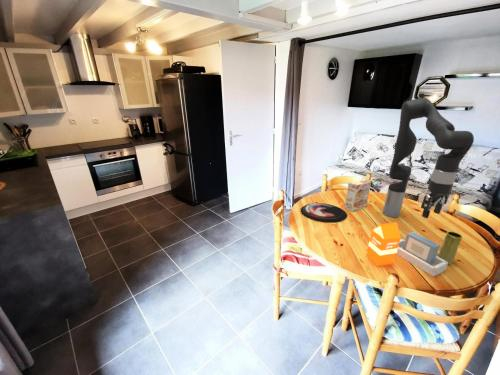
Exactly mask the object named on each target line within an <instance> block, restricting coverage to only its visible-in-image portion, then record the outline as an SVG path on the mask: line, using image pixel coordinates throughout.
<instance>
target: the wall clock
mask: <svg viewBox="0 0 500 375" xmlns="http://www.w3.org/2000/svg"><path fill="white" fill-rule="evenodd" d="M300 210H301V211H300V213H301V212H302V213H301V215H303V216H304V217H305V216H306V218H308V219H309V218H310V220H313V221H315V222H320V223H340V222H343V221H344V220H346V219H347V218H348V214H347V212H346V211H345V210H344V209H342V208H341V207H339V206H337V205H333V204H330V203H324V202H313V203H308V204H305V205H303V206H301V208H300Z"/></svg>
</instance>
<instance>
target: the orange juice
mask: <svg viewBox="0 0 500 375" xmlns="http://www.w3.org/2000/svg"><path fill="white" fill-rule="evenodd" d="M401 239H402V237H401V233H400V230H399V226H398V222H397V221H396V222H388V223H381V224H379V225H377V226H376V227H374V228H373V229H371V234H370V238H369V240H368V245H367V247H368V248H367V251H366V256H365V257H367V258H368V259H369V260H370V261H371V262H372V263H373V264H375V265H376V267H379V266H386V265H392V264H394V263H395V259H396V255H397V254H396V253H397V249H398V245H399V242H400V240H401Z"/></svg>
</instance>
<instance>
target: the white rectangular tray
mask: <svg viewBox="0 0 500 375" xmlns="http://www.w3.org/2000/svg"><path fill="white" fill-rule="evenodd" d="M405 239H406V238H400V242H399V245H398V249H397V253H396V255H397V256H399V257H400V258H402V259H404V260H405V261H407V262H408V263H411V264H412V265H413V266H416V267H417V268H419V269H420V270H422V271H424V273H425V272H426V273H427V274H429V275H430V276H432V277H436V276H438V275H439V274H441V273H443V272H445V271H446V270H447V267H448V265H449V264H448V262H447V261H445V260H443V259H441V258H439V257H438V255H436V258H435V261H434V263H433V264H431V265H430V264H428V263H426V262H425V261H423V260H421V259H419V258H418V257H416V256H414V255H412V254H411V253H409V252H407V251H405V250H404V249H403V246H404V242H405Z"/></svg>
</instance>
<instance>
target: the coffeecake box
mask: <svg viewBox="0 0 500 375" xmlns="http://www.w3.org/2000/svg"><path fill="white" fill-rule="evenodd" d="M371 185H372V180H370V179H366V178H359V179H356V180H352V181H349V182H348V185H347V191H346V196H345V201H344V202H345V203H344V207H343V208H344V209H345V210H348V211H349V212H351V213H354V212H357V211H358V210H361V209H364V208H366V207H367V204H368V199H369V193H370V189H371Z"/></svg>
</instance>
